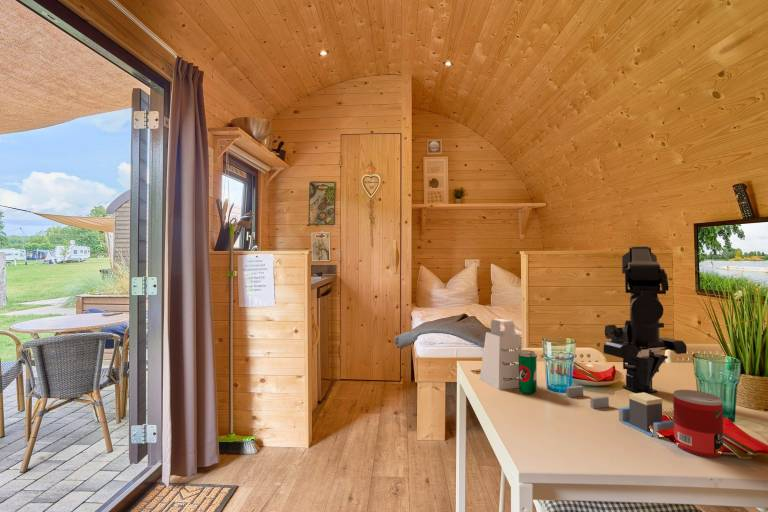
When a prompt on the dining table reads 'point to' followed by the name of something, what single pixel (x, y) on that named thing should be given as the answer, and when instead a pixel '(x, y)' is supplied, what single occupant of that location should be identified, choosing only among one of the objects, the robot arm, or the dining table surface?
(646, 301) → the robot arm
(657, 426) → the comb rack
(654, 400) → the box with lid
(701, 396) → the canned food
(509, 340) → the grater
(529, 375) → the soda can
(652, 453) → the dining table surface
